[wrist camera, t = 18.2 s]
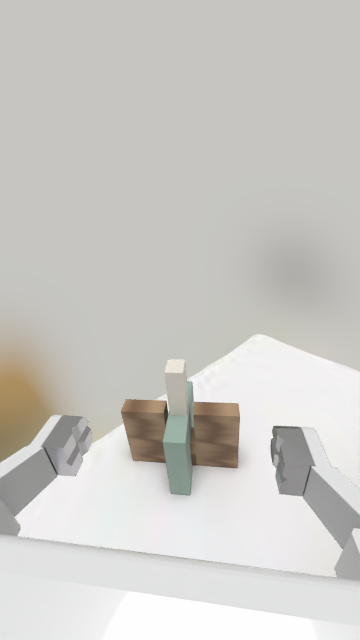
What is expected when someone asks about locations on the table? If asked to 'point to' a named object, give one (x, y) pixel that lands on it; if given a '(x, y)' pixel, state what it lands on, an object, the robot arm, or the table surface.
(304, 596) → the robot arm
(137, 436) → the walnut slotted board
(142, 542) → the table surface
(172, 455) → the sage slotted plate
